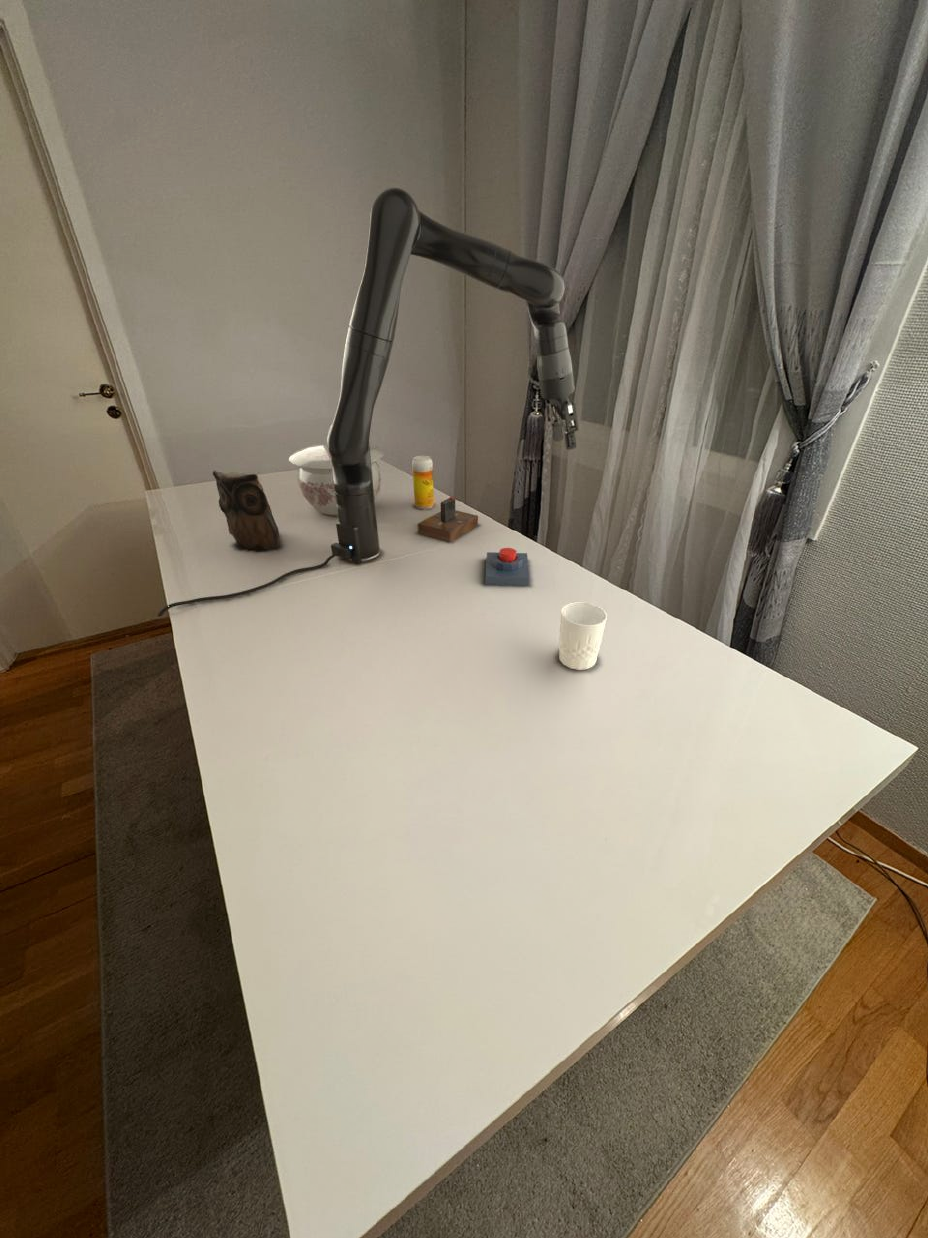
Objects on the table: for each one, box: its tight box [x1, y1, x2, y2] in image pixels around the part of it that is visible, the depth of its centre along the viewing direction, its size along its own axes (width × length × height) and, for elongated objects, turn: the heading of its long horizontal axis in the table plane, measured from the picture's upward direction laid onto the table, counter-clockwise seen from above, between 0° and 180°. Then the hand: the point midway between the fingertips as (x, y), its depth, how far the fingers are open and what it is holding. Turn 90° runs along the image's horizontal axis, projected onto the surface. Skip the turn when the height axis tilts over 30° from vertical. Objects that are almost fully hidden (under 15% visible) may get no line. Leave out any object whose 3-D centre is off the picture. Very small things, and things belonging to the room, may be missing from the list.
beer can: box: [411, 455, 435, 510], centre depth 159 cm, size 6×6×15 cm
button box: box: [484, 551, 530, 587], centre depth 124 cm, size 13×10×4 cm
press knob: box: [498, 547, 517, 562], centre depth 123 cm, size 4×4×2 cm
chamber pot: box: [288, 442, 385, 517], centre depth 156 cm, size 28×28×21 cm
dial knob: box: [440, 496, 456, 522], centre depth 144 cm, size 5×2×6 cm, turn 146°
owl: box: [212, 470, 281, 553], centre depth 134 cm, size 13×13×20 cm
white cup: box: [558, 601, 608, 671], centre depth 93 cm, size 8×8×10 cm
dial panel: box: [417, 509, 479, 543], centre depth 147 cm, size 14×11×3 cm
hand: (565, 444), depth 124 cm, fingers open, 8 cm apart
